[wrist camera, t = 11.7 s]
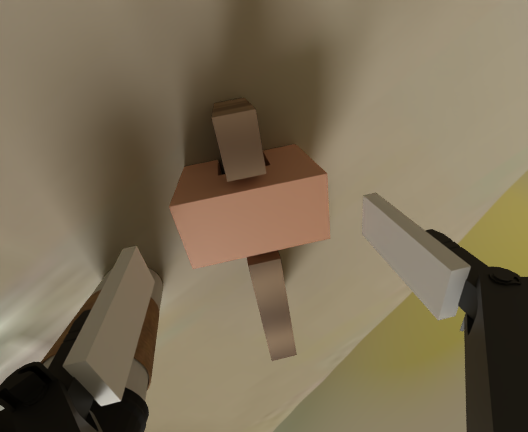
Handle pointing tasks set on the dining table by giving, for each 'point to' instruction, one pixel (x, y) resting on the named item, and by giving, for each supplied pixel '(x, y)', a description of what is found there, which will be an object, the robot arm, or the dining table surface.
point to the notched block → (251, 208)
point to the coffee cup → (133, 400)
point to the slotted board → (267, 264)
